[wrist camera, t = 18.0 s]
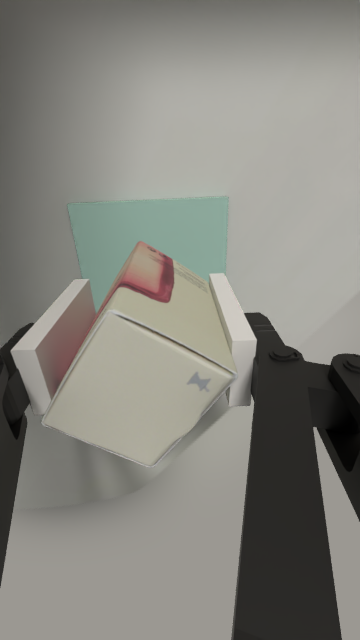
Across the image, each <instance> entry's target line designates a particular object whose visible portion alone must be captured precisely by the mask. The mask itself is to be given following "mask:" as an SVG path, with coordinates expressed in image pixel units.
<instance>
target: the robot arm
mask: <svg viewBox="0 0 360 640" xmlns="http://www.w3.org/2000/svg"><path fill="white" fill-rule="evenodd" d="M209 287H210V290H211V293H212V296H213V299H214V302H215V305H216V308H217V311H218V314H219V317H220V320H221V323H222V326H223V329H224V332H225V335H226V339H227V342H228V345H229V348H230V351H231V355H232V357H233V360H234V363H235V366H236V369H237V372H238V378H237V380H236V381H235V382H234V383H232V385H231V386H230V387H229V388H228V389H227V390H226V391H225V392H226V396H227V400H228V405H229V406H250V403H251V394H252V397H253V400H254V402H255V403H254V413H253V421H252V433H251V443H250V454H249V463H248V475H247V485H246V494H245V505H244V516H243V525H242V535H241V547H240V556H239V566H238V577H237V587H236V598H235V608H234V618H233V628H232V639H231V640H342V638H341V630H340V623H339V616H338V608H337V601H336V593H335V586H334V579H333V571H332V564H331V556H330V549H329V542H328V535H327V527H326V520H325V512H324V505H323V498H322V491H321V484H320V476H319V468H318V461H317V454H316V447H315V439H314V432H313V427H317V430H318V432H319V434H320V437H321V439H322V441H323V443H324V445H325V447H326V449H327V452H328V454H329V456H330V458H331V460H332V462H333V465H334V467H335V469H336V471H337V473H338V476H339V478H340V480H341V482H342V484H343V486H344V488H345V491H346V493H347V495H348V497H349V499H350V501H351V504H352V506H353V508H354V510H355V512H356V514H357V517H358V519H359V521H360V356H359V355H356V354H338V355H336V356H334V357H333V359H332V361H331V365H325V364H318V363H312V362H307V361H304V358H303V356H302V354H301V353H300V352H299V351H297V350H296V349H294V348H291V347H289V346H285V344H284V343H283V341H282V340H281V338H280V337H279V335H278V333H277V332H276V331H275V329H274V327H273V326H272V325H271V323H270V321H269V319H268V318H267V317H265V316H264V315H262V314H261V313H259V312H258V313H243V311H242V309H241V307H240V305H239V303H238V301H237V299H236V297H235V295H234V293H233V291H232V289H231V287H230V285H229V282H228V280H227V278H226V276H225V274H224V273H213V274H209ZM95 316H96V312H95V306H94V301H93V296H92V291H91V286H90V281H89V279H74V280H73V282H72V283H71V284H70V285H69V286H68V287H67V288H66V289H65V291H64V292H63V293H62V294H61V295H60V296H59V297H58V298H57V299H56V301H55V302H54V303H53V304H52V305H51V306H50V307H49V308H48V309H47V311H46V312H45V313H44V314H43V315H42V316H41V317H40V318H39V319H38V321H37V322H36V323H30V324H28V325H26V326H25V327H23V328H21V329H19V330H18V332H17V333H16V334H15V335H14V336H13V338H11V339H10V340H9V341H8V343H6V344H5V345H4V346H3V347H2V348H1V349H0V586H1V580H2V573H3V568H4V562H5V556H6V549H7V543H8V537H9V531H10V525H11V519H12V513H13V507H14V501H15V495H16V489H17V482H18V476H19V470H20V464H21V458H22V452H23V446H24V440H25V434H26V428H27V418H26V416H25V413H24V411H25V410H26V408H27V406H28V405H29V403H30V405H31V408H32V410H33V413H34V415H44V414H45V412H46V410H47V408H48V406H49V404H50V402H51V400H52V398H53V397H54V395H55V393H56V391H57V389H58V387H59V385H60V383H61V381H62V379H63V377H64V375H65V373H66V371H67V369H68V367H69V366H70V364H71V362H72V360H73V358H74V356H75V354H76V352H77V350H78V348H79V346H80V344H81V342H82V341H83V339H84V337H85V335H86V333H87V331H88V329H89V327H90V325H91V323H92V321H93V319H94V318H95Z"/></svg>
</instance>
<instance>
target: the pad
mask: <svg viewBox="0 0 360 640" xmlns="http://www.w3.org/2000/svg"><path fill="white" fill-rule="evenodd" d="M228 198H229V197H203V198H180V199H156V200H133V201H110V202H86V203H69V204H67V207H68V212H69V217H70V221H71V226H72V231H73V236H74V241H75V246H76V251H77V255H78V260H79V265H80V270H81V275H82V279H89V281H90V286H91V291H92V296H93V301H94V306H95V312H96V314H97V312H98V310H99V308H100V306H101V304H102V302H103V300H104V299H105V297H106V295H107V293H108V291H109V289H110V287H111V285H112V284H113V282H114V280H115V278H116V277H117V275H118V273H119V271H120V270H121V268H122V267H123V265H124V263H125V262H126V260H127V259H128V257H129V255H130V254H131V252H132V251H133V249H134V247H135V246H136V244H137V243H138V242H139V241H142V242H144V243H146V244H148V245H150V246H152V247H153V248H155V249H157V250H158V251H160V252H162V253H163V254H165V255H167V256H168V257H170V258H172V259H173V260H175V261H177V262H178V263H180V264H181V265H183V266H185V267H186V268H188V269H189V270H191V271H192V272H194V273H195V274H197V275H198V276H200V277H201V278H203V279H204V280H206V281H207V282H208V284H209V274H213V273H224V274H225V276H226V251H227V224H228Z"/></svg>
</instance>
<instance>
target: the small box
mask: <svg viewBox="0 0 360 640" xmlns="http://www.w3.org/2000/svg"><path fill="white" fill-rule="evenodd" d="M237 378H238V372H237V369H236V366H235V363H234V360H233V357H232V355H231V351H230V348H229V345H228V342H227V339H226V335H225V332H224V329H223V326H222V323H221V320H220V317H219V314H218V311H217V308H216V305H215V302H214V299H213V296H212V293H211V290H210V287H209V284H208V282H207V281H206V280H204V279H203V278H201V277H200V276H198V275H197V274H195V273H194V272H192V271H191V270H189V269H188V268H186V267H185V266H183V265H181V264H180V263H178V262H177V261H175V260H173V259H172V258H170V257H168V256H167V255H165V254H163V253H162V252H160V251H158V250H157V249H155V248H153V247H152V246H150V245H148V244H146V243H144V242H142V241H139V242H138V243H137V244H136V246H135V247H134V249H133V251H132V252H131V254H130V255H129V257H128V259H127V260H126V262H125V263H124V265H123V267H122V268H121V270H120V271H119V273H118V275H117V277H116V278H115V280H114V282H113V284H112V285H111V287H110V289H109V291H108V293H107V295H106V297H105V299H104V300H103V302H102V304H101V306H100V308H99V310H98V312H97V314H96V316H95V318H94V319H93V321H92V323H91V325H90V327H89V329H88V331H87V333H86V335H85V337H84V339H83V341H82V342H81V344H80V346H79V348H78V350H77V352H76V354H75V356H74V358H73V360H72V362H71V364H70V366H69V367H68V369H67V371H66V373H65V375H64V377H63V379H62V381H61V383H60V385H59V387H58V389H57V391H56V393H55V395H54V397H53V398H52V400H51V402H50V404H49V406H48V408H47V410H46V412H45V414H44V416H43V418H42V420H41V424H42V425H43V426H45V427H48V428H51V429H53V430H56V431H59V432H61V433H63V434H65V435H68V436H71V437H74V438H76V439H79V440H81V441H83V442H86V443H88V444H91V445H94V446H96V447H98V448H100V449H103V450H105V451H108V452H110V453H113V454H116V455H118V456H120V457H122V458H125V459H128V460H130V461H133V462H135V463H138V464H140V465H143V466H145V467H148V468H152V467H155V466H156V465H157V464H158V463H159V462H160V461H161V460H162V459H163V458H164V457H165V456H166V455H167V454H168V452H169V451H170V450H171V449H172V448H173V447H174V446H175V445H176V444H177V443H178V442H179V441H180V440H181V439H182V438H183V437H184V436H185V435H186V434H187V433H188V432H189V431H190V430H191V429H192V428H193V427H194V426H195V425H196V424H197V423H198V421H199V420H200V419H201V418H202V416H203V415H204V414H205V413H206V412H207V411H208V410H209V409H210V408H211V406H212V405H213V404H214V403H215V402H216V401H217V400H218V399H219V398H220V397H221V395H222V394H223V393H224V392H225V391H226V390H227V389H228V388H229V387H230V386H231V385H232V383H234V382H235V381H236V380H237Z"/></svg>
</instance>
